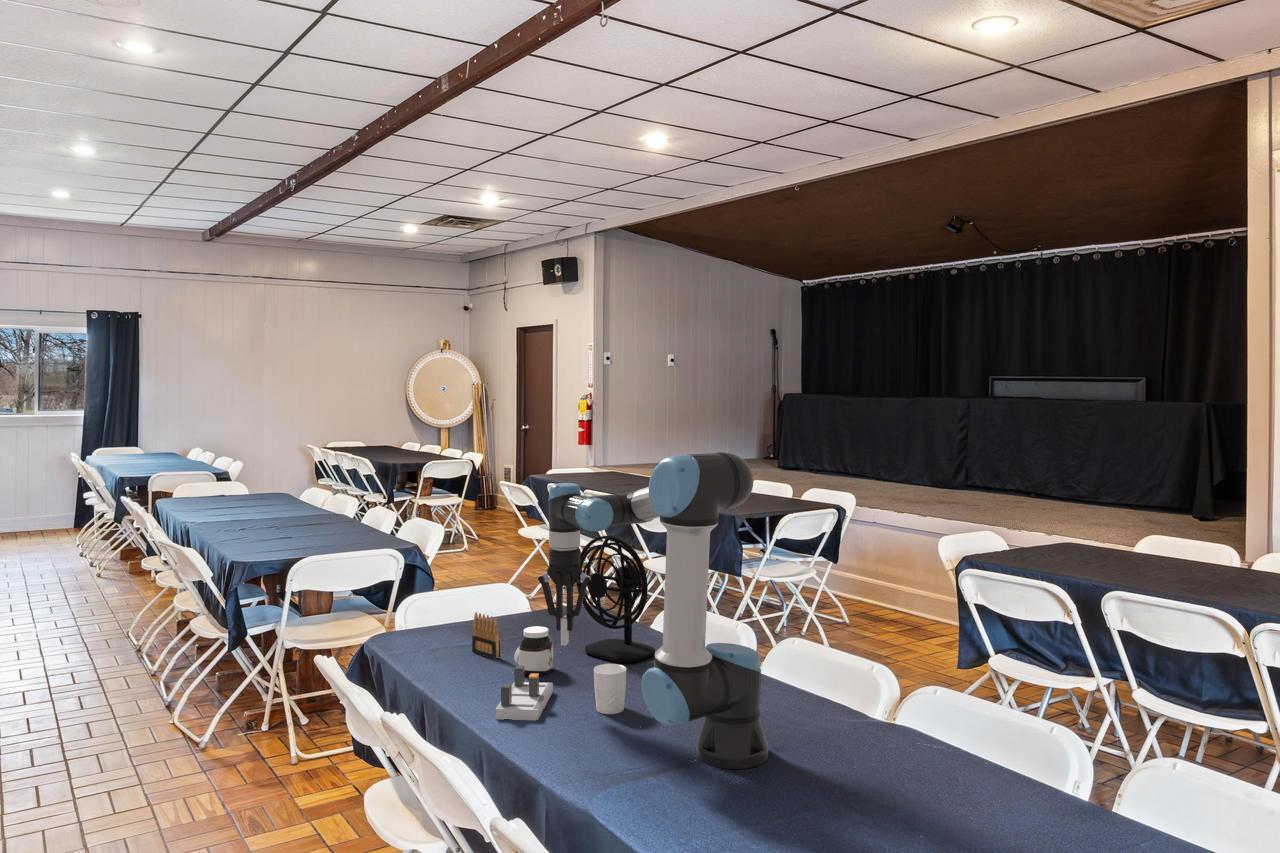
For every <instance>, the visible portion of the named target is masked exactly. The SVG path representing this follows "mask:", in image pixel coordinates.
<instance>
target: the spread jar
mask: <svg viewBox="0 0 1280 853" xmlns="http://www.w3.org/2000/svg"><path fill="white" fill-rule="evenodd" d="M549 631H550V630H549V628H548V627H547V626H546V627H545V626H529V627H526V628H524V629H523V637H522V639H521V641H520V644H519V646H518V647H517V649H516V650H515V653H514V656H513V659H514V662H515V663H516V664H517V665H519V666H524V675H526V674H527V676H530V674H531V673H538V674H539V675H540V676H543V675H544V676H545V675H547V674H549V672H550V671H551V670H552V667H553V663H554V642H553V639H552V638H551V636H550V635H549Z"/></svg>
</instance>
